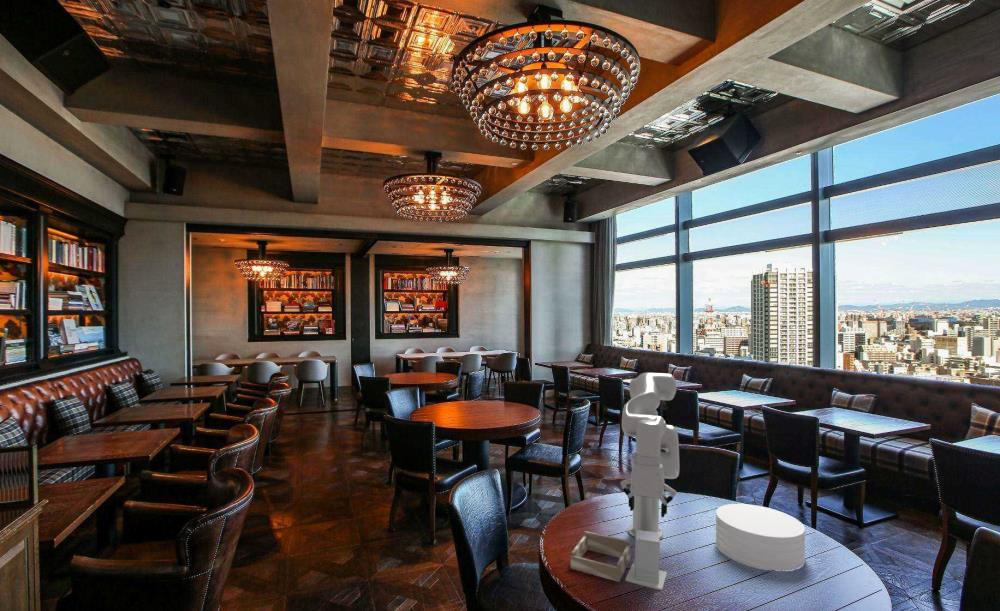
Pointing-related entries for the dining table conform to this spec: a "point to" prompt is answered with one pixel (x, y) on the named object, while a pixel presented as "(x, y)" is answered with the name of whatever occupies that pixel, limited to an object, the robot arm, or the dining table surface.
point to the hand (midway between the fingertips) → (647, 512)
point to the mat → (650, 584)
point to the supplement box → (647, 555)
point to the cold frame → (606, 547)
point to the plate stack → (760, 537)
